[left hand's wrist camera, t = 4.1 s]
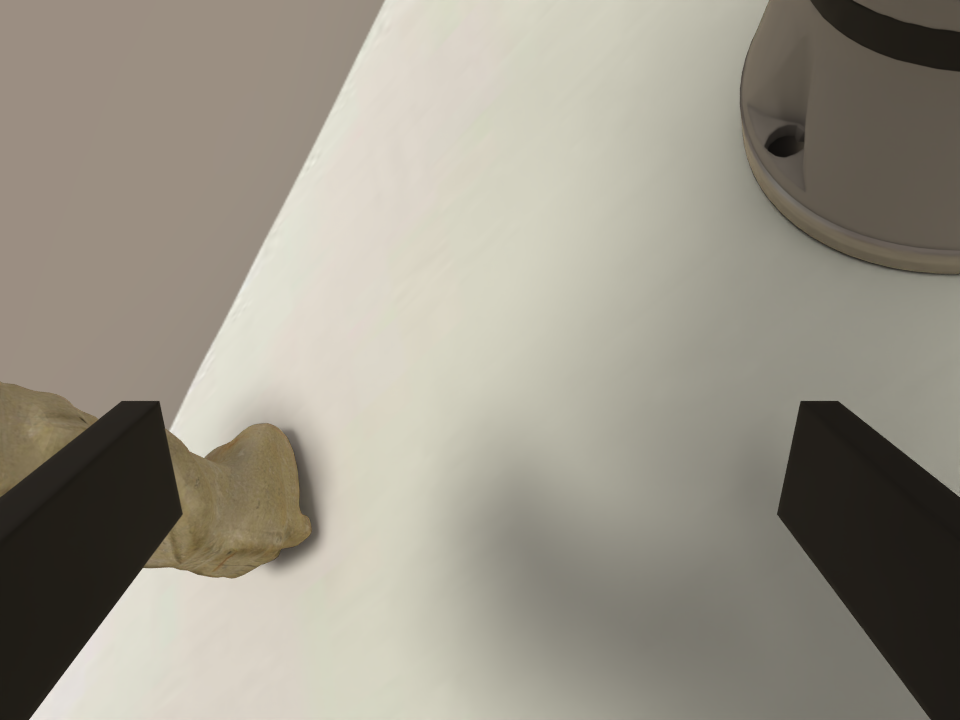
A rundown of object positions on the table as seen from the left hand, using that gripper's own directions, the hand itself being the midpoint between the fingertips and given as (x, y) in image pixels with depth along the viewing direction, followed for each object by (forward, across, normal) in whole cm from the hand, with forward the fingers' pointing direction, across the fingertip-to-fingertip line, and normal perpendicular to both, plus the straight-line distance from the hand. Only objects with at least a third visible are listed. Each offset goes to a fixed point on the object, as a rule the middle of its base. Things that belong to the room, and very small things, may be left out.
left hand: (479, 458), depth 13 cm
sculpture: (+16, -10, -12) cm, 23 cm away
